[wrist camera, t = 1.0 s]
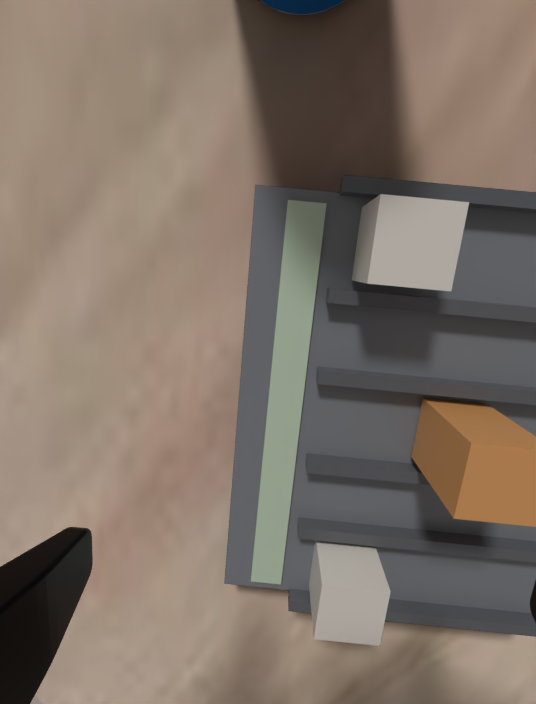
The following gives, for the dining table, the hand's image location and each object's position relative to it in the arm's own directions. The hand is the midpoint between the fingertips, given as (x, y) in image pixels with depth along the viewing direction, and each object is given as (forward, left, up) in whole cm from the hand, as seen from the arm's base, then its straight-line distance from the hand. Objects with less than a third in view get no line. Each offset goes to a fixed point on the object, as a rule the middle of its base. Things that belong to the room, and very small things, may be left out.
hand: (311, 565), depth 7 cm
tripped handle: (-7, +1, -10) cm, 13 cm away
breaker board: (-7, +1, -12) cm, 14 cm away
